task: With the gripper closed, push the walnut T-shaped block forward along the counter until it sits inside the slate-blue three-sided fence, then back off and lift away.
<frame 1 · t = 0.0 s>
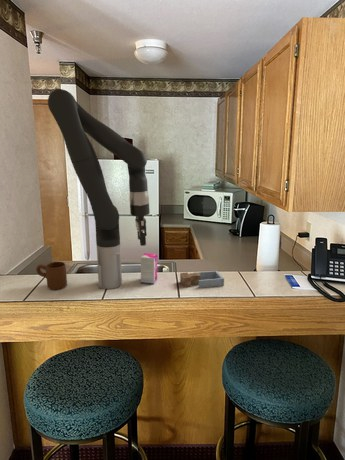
hand: (141, 242, 133), 17 cm above the countertop, tool pointing down, fingers open, 8 cm apart
pocket fence: (209, 282, 137), on the countertop
supplement box: (149, 281, 138), on the countertop
mug: (52, 286, 133), on the countertop
tee: (185, 284, 135), on the countertop
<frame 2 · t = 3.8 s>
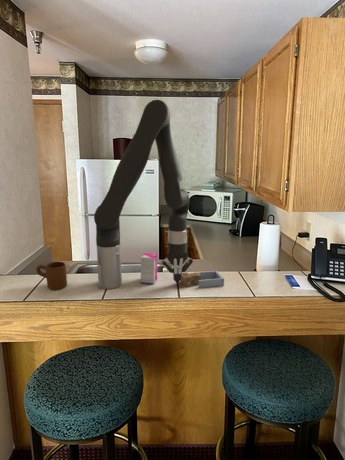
hand: (177, 281, 134), 2 cm above the countertop, tool pointing down, fingers closed
tee: (185, 284, 135), on the countertop, touching gripper
everything else where it was.
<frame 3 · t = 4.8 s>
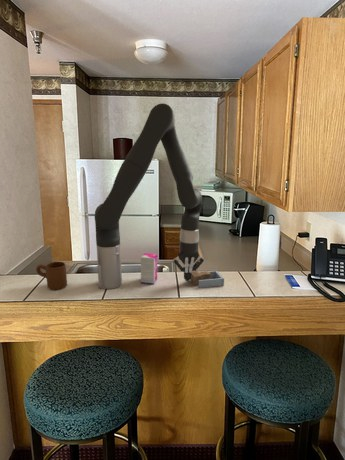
hand: (187, 280, 135), 2 cm above the countertop, tool pointing down, fingers closed
tee: (195, 282, 136), on the countertop, touching gripper
everything else where it was.
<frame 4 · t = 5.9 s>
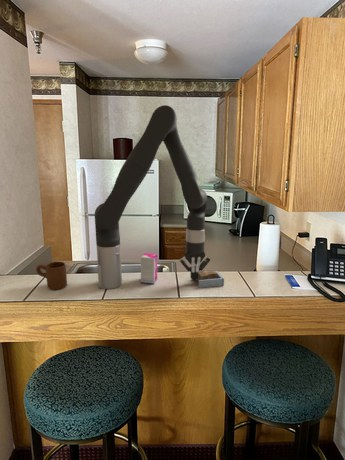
hand: (194, 279, 136), 2 cm above the countertop, tool pointing down, fingers closed
tee: (202, 282, 137), on the countertop, touching gripper
everything else where it was.
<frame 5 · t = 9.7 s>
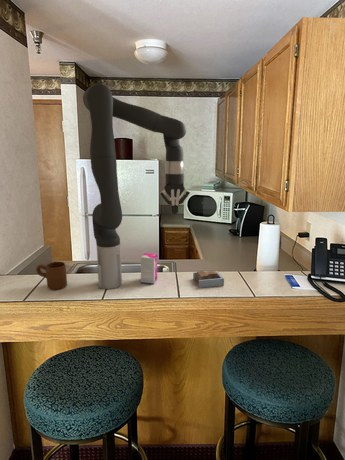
hand: (174, 213, 139), 27 cm above the countertop, tool pointing down, fingers closed
tee: (202, 282, 137), on the countertop
everything else where it was.
at the end: tee 0.4 cm from the target spot, on the countertop; tee moved 7.4 cm from its start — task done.
